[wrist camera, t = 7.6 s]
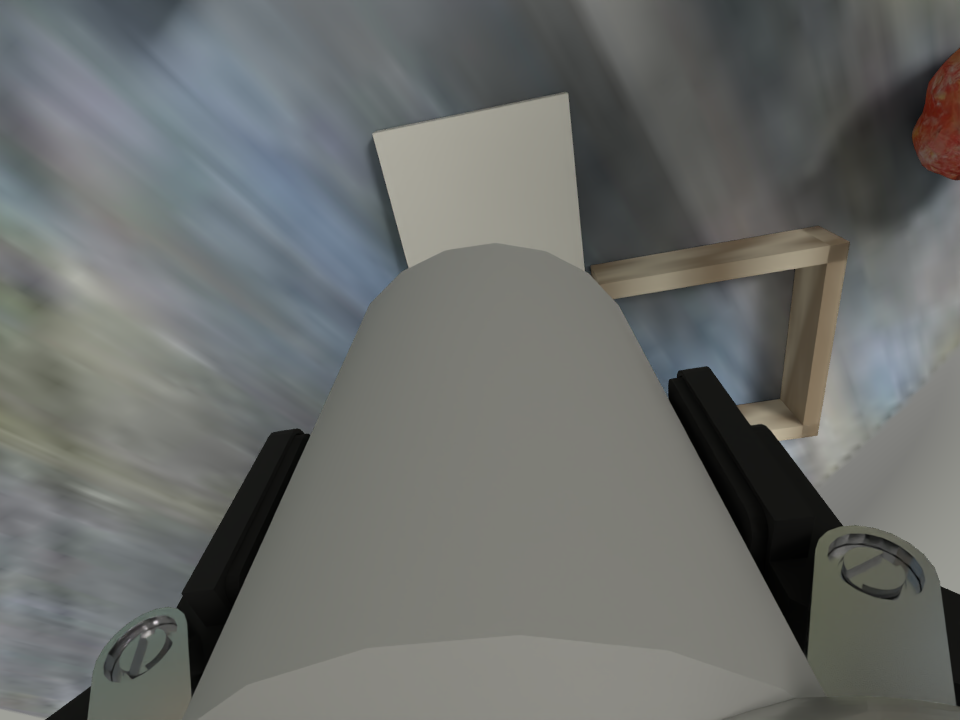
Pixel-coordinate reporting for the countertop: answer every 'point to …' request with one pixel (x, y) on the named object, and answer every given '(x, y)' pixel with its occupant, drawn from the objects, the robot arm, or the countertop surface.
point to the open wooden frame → (810, 315)
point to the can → (500, 527)
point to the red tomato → (941, 122)
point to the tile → (485, 180)
